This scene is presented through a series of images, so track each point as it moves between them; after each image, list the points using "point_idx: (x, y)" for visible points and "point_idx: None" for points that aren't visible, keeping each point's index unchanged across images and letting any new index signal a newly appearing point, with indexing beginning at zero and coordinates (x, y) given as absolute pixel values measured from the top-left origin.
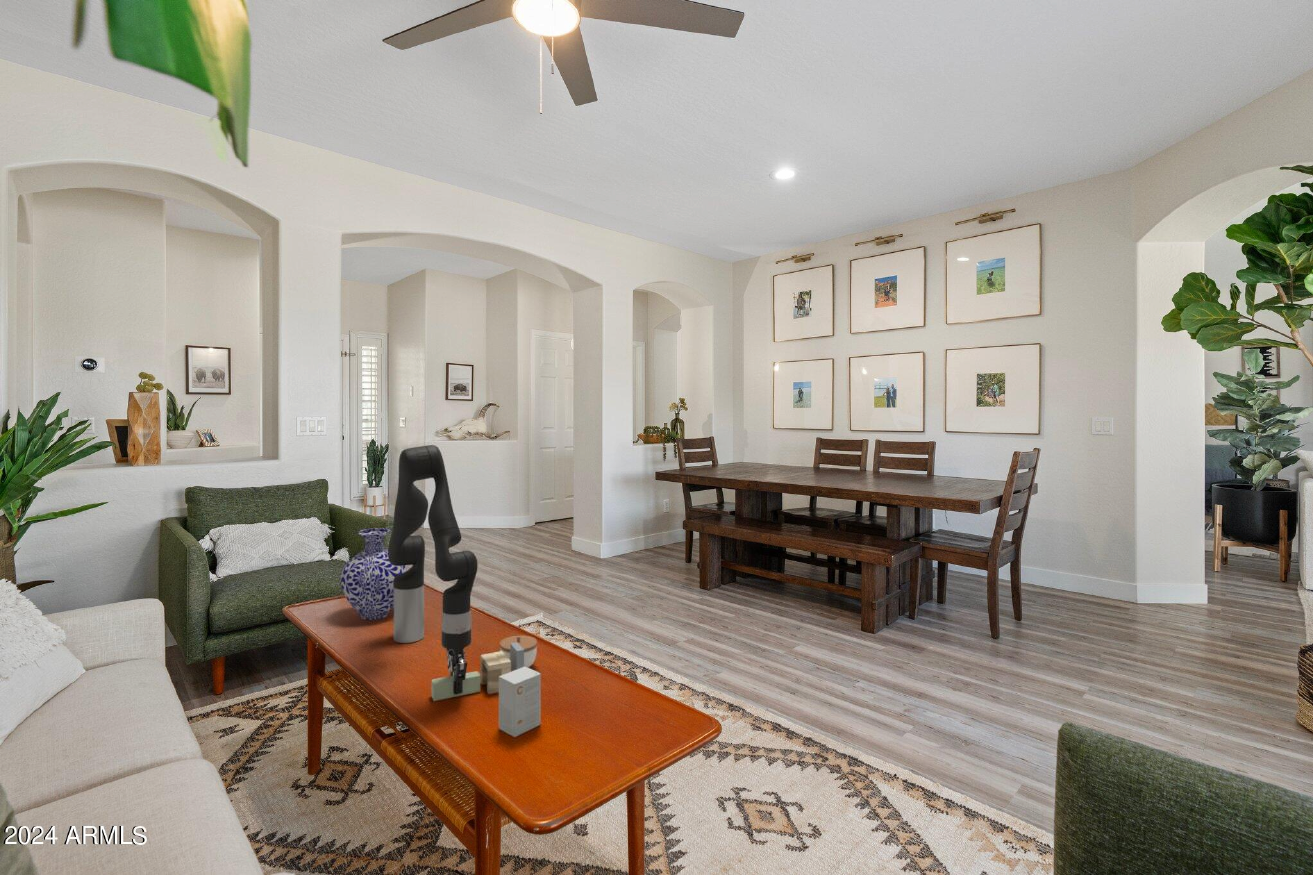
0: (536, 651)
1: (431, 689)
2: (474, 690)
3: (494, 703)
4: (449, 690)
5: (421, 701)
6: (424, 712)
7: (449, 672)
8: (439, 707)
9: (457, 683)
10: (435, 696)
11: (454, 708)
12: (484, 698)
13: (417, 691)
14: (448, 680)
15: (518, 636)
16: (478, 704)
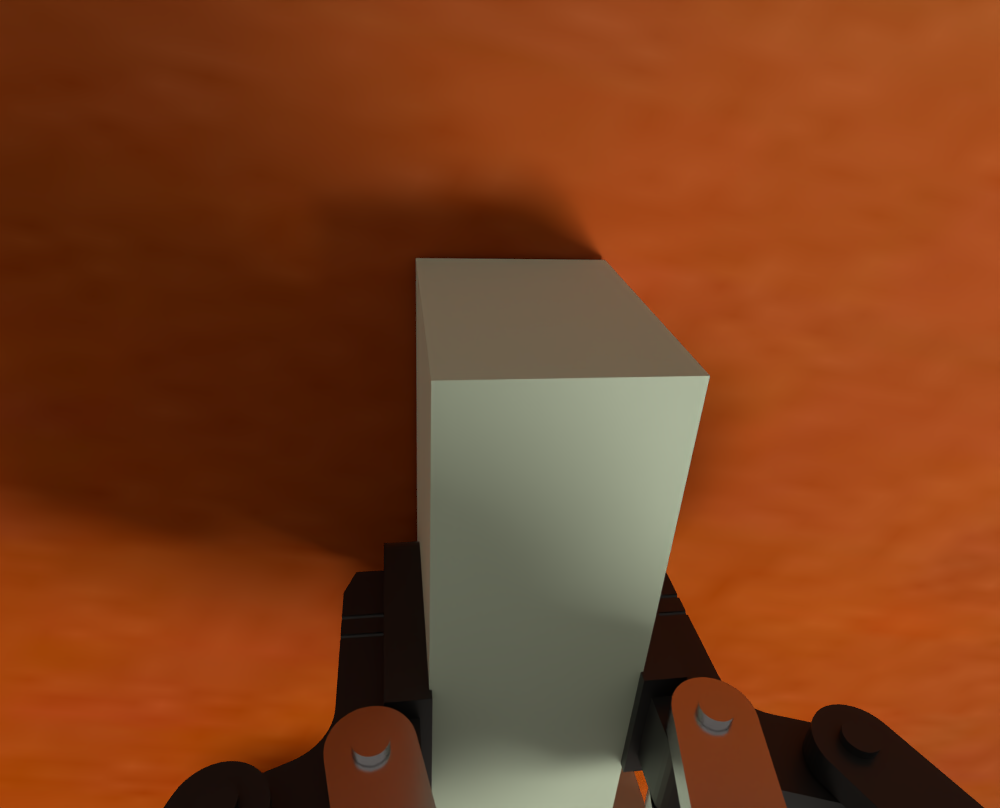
0: None
1: (628, 295)
2: None
3: (80, 801)
4: (422, 525)
5: (502, 69)
6: (28, 12)
7: (696, 704)
8: (161, 291)
9: (336, 711)
10: (418, 306)
11: (62, 465)
12: (239, 745)
13: (884, 94)
14: (484, 629)
15: None
16: (102, 691)
